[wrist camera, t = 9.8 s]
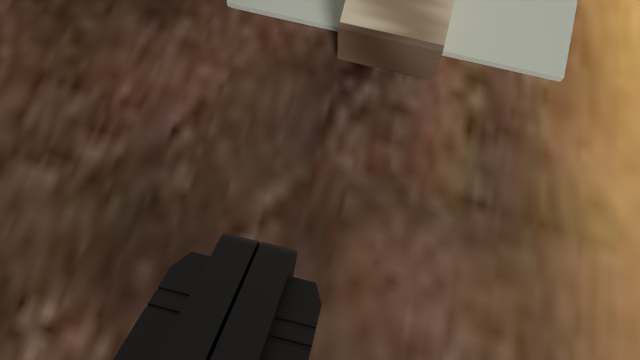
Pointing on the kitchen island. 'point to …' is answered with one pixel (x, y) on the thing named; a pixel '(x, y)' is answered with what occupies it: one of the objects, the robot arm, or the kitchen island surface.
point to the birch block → (395, 34)
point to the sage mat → (468, 29)
